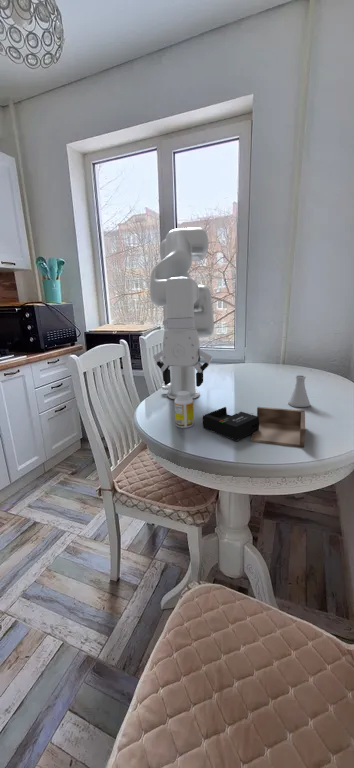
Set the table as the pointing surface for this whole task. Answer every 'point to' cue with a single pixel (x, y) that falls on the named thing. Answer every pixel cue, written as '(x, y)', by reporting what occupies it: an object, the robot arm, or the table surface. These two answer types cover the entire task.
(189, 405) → the supplement bottle
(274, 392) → the table surface
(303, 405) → the flask
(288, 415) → the corner arena
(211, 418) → the battery charger
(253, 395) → the table surface
